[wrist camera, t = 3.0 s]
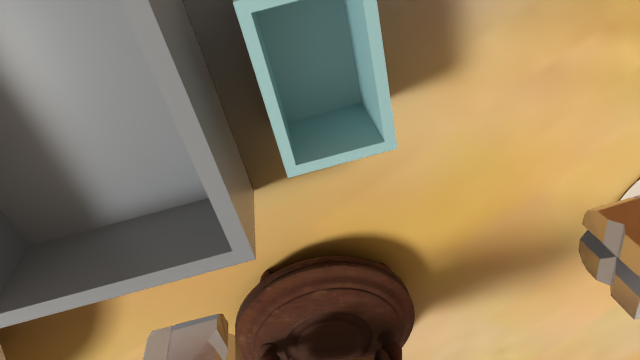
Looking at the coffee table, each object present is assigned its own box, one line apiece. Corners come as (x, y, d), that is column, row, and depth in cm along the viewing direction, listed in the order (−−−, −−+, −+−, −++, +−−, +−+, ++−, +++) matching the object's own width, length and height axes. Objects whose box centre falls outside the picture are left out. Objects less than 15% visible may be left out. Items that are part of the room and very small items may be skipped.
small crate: (344, -48, 23) (371, -36, 18) (369, 105, 28) (397, 148, 23) (235, -19, 23) (232, 1, 18) (280, 129, 28) (287, 177, 23)
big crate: (108, -198, 19) (45, -246, 13) (253, 191, 30) (255, 259, 24) (-253, -102, 19) (-482, -107, 13) (30, 251, 30) (-22, 334, 24)
